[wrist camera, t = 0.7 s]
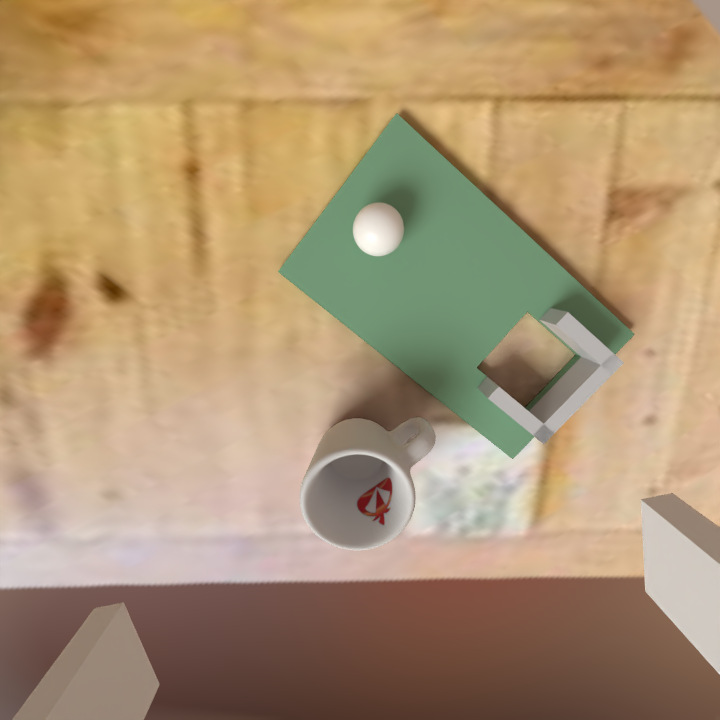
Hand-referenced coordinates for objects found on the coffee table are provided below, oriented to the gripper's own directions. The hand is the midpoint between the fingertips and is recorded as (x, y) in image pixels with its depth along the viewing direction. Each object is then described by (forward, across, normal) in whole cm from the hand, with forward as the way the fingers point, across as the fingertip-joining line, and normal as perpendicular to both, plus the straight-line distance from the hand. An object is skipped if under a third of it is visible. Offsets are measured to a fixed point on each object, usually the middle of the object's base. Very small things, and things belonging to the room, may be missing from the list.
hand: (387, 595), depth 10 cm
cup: (+24, -1, -7) cm, 25 cm away
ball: (+21, +3, +10) cm, 24 cm away
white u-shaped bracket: (+23, +14, -4) cm, 28 cm away
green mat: (+24, +8, +3) cm, 25 cm away
